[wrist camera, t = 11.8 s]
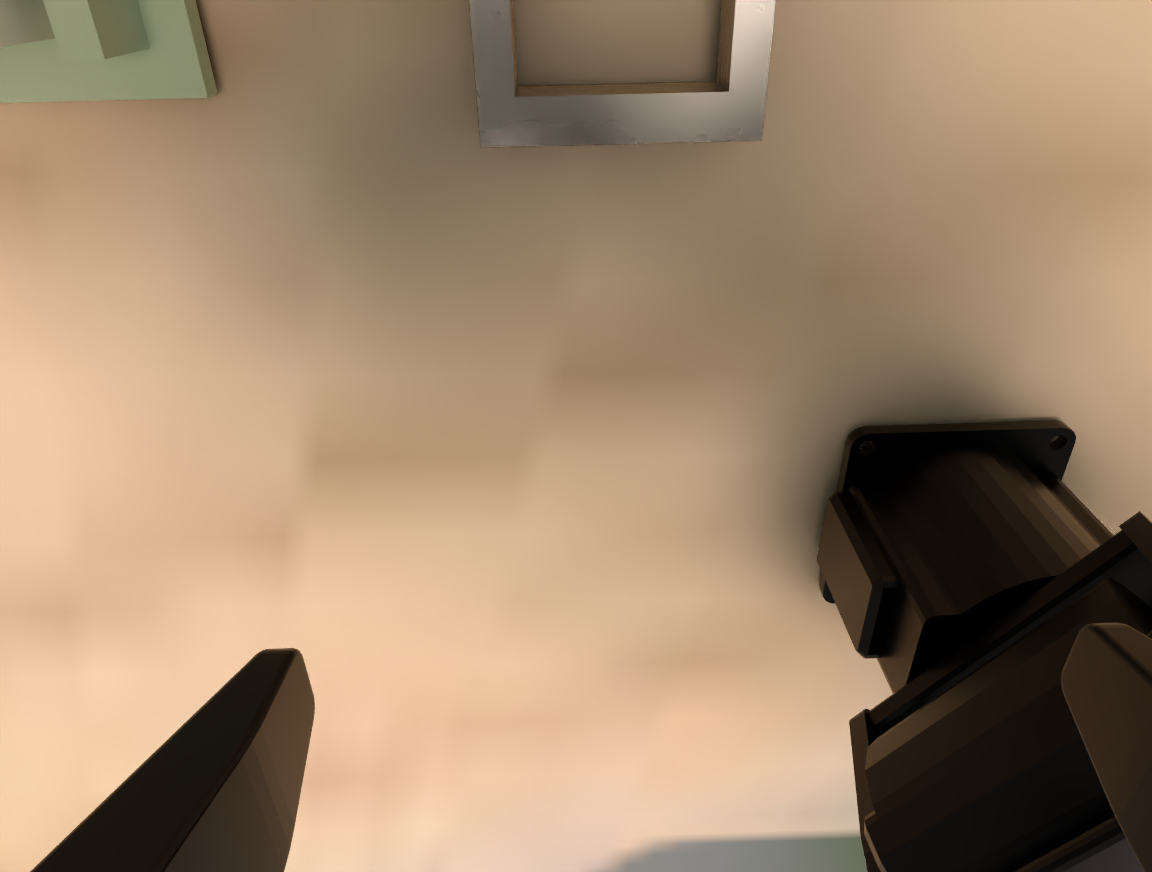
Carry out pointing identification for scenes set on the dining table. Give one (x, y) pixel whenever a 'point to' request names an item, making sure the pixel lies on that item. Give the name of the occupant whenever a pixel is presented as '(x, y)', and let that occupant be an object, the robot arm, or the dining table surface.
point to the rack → (623, 90)
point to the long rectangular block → (23, 22)
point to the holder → (111, 54)
